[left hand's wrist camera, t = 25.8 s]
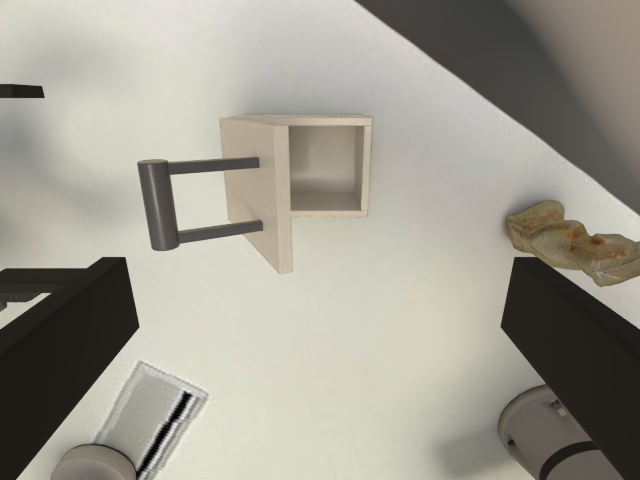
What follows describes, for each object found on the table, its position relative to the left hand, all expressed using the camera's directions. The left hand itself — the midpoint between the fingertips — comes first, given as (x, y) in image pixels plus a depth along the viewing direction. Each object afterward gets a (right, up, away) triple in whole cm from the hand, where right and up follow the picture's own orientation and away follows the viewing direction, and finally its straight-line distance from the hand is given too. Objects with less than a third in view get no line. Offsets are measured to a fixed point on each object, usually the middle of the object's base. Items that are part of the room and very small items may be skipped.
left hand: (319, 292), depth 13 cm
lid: (-5, +6, +17) cm, 19 cm away
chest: (-2, +12, +32) cm, 34 cm away
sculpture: (+27, +4, +35) cm, 44 cm away
